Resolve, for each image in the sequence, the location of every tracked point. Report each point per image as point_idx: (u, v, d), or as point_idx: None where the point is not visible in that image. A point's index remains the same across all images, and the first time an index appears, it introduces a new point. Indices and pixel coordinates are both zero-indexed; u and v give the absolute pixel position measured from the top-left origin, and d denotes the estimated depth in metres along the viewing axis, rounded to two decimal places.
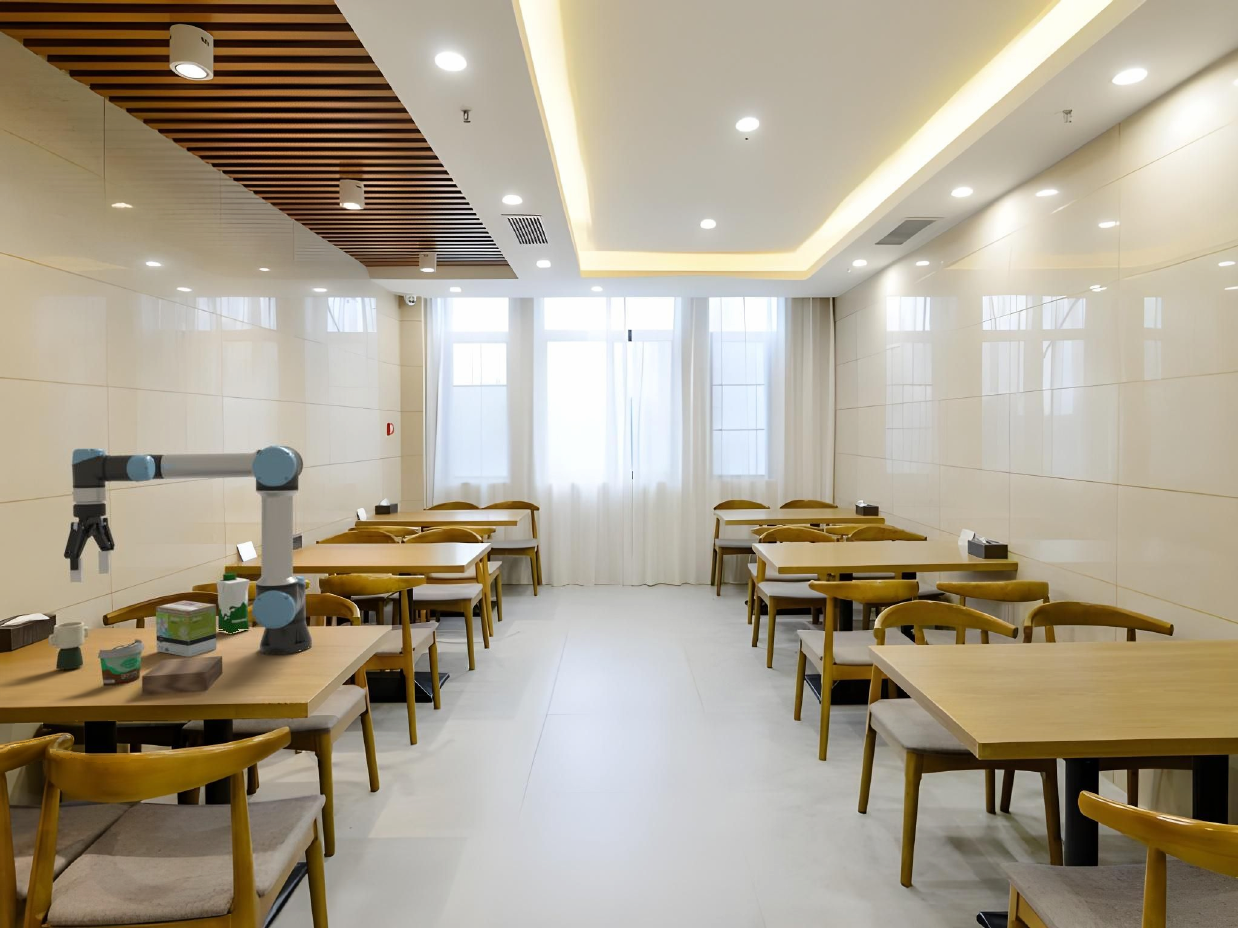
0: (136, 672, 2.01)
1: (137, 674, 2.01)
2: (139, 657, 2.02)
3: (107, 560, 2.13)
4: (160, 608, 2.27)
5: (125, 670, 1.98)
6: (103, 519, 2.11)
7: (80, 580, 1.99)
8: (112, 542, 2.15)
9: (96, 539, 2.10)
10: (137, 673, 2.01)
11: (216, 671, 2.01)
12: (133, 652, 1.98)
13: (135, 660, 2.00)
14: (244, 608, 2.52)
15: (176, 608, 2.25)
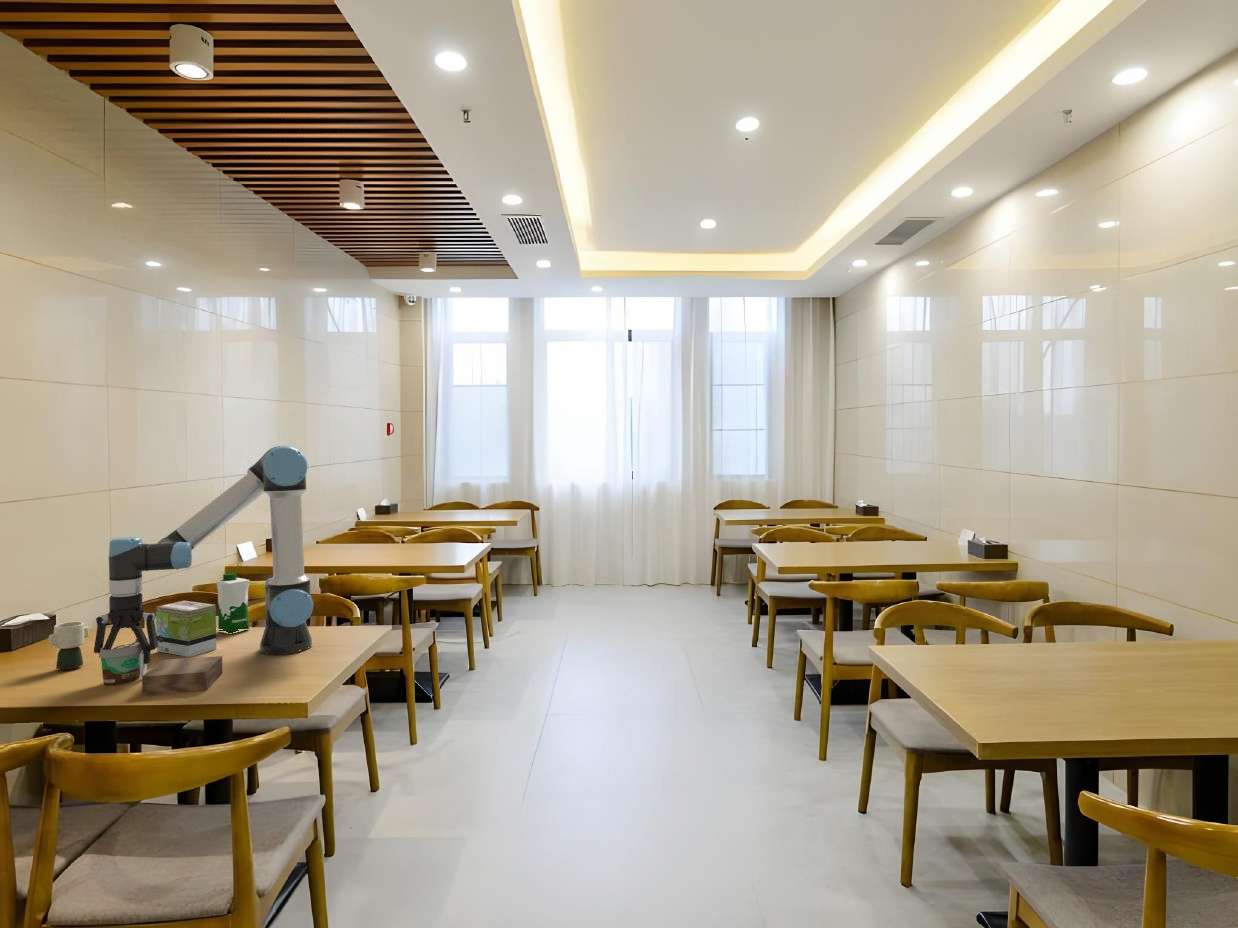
0: (136, 672, 2.01)
1: (137, 674, 2.01)
2: None
3: None
4: (160, 608, 2.27)
5: (126, 670, 1.98)
6: (148, 615, 2.00)
7: None
8: (152, 644, 2.00)
9: None
10: (137, 673, 2.01)
11: (216, 671, 2.01)
12: (134, 652, 1.98)
13: (136, 660, 2.00)
14: (244, 608, 2.52)
15: (176, 608, 2.25)
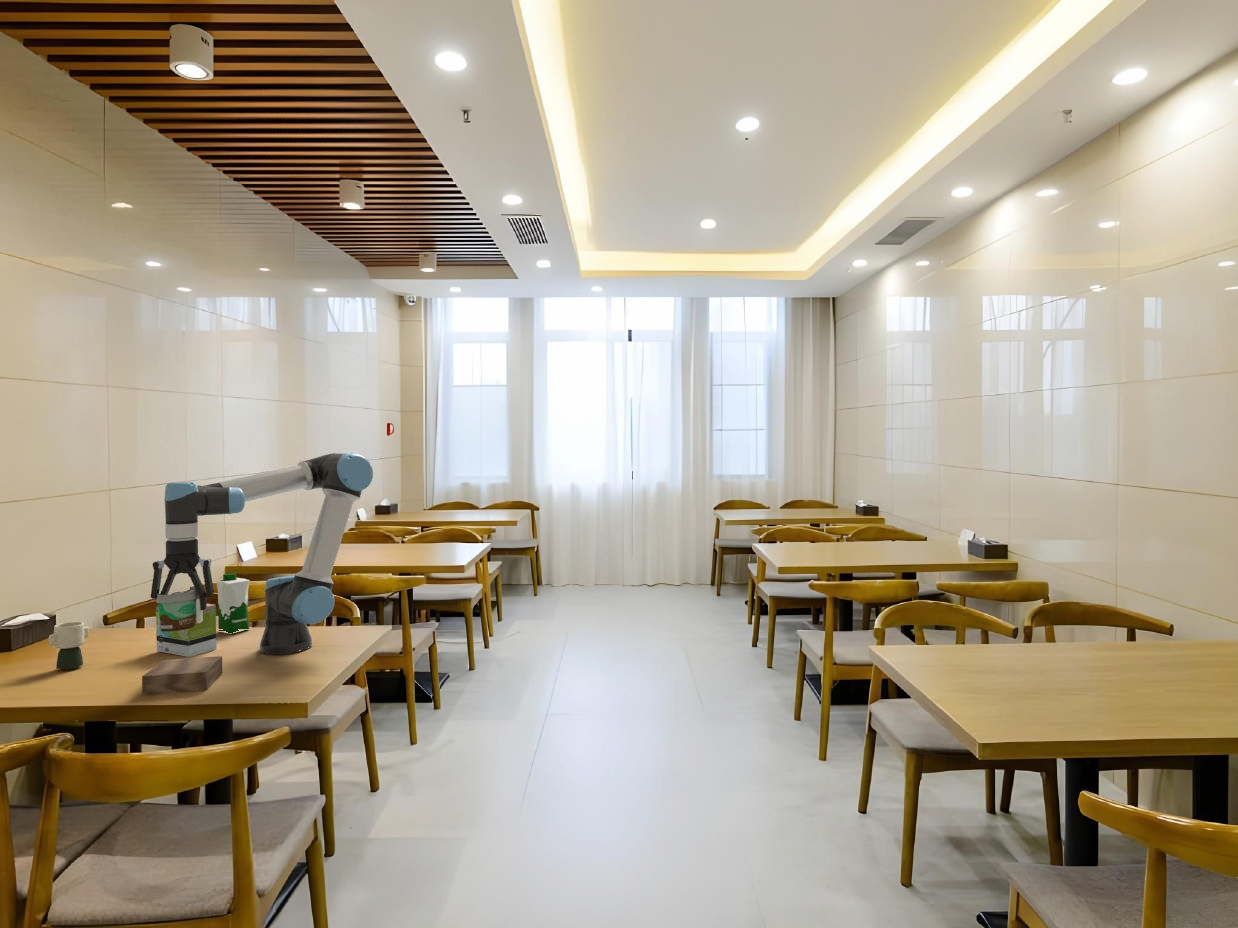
0: (193, 619, 1.97)
1: (194, 621, 1.98)
2: (195, 604, 1.98)
3: None
4: None
5: (183, 616, 1.95)
6: (204, 561, 1.97)
7: None
8: (208, 590, 1.97)
9: None
10: (194, 620, 1.98)
11: (216, 671, 2.01)
12: (190, 598, 1.95)
13: (192, 606, 1.97)
14: (244, 608, 2.52)
15: None
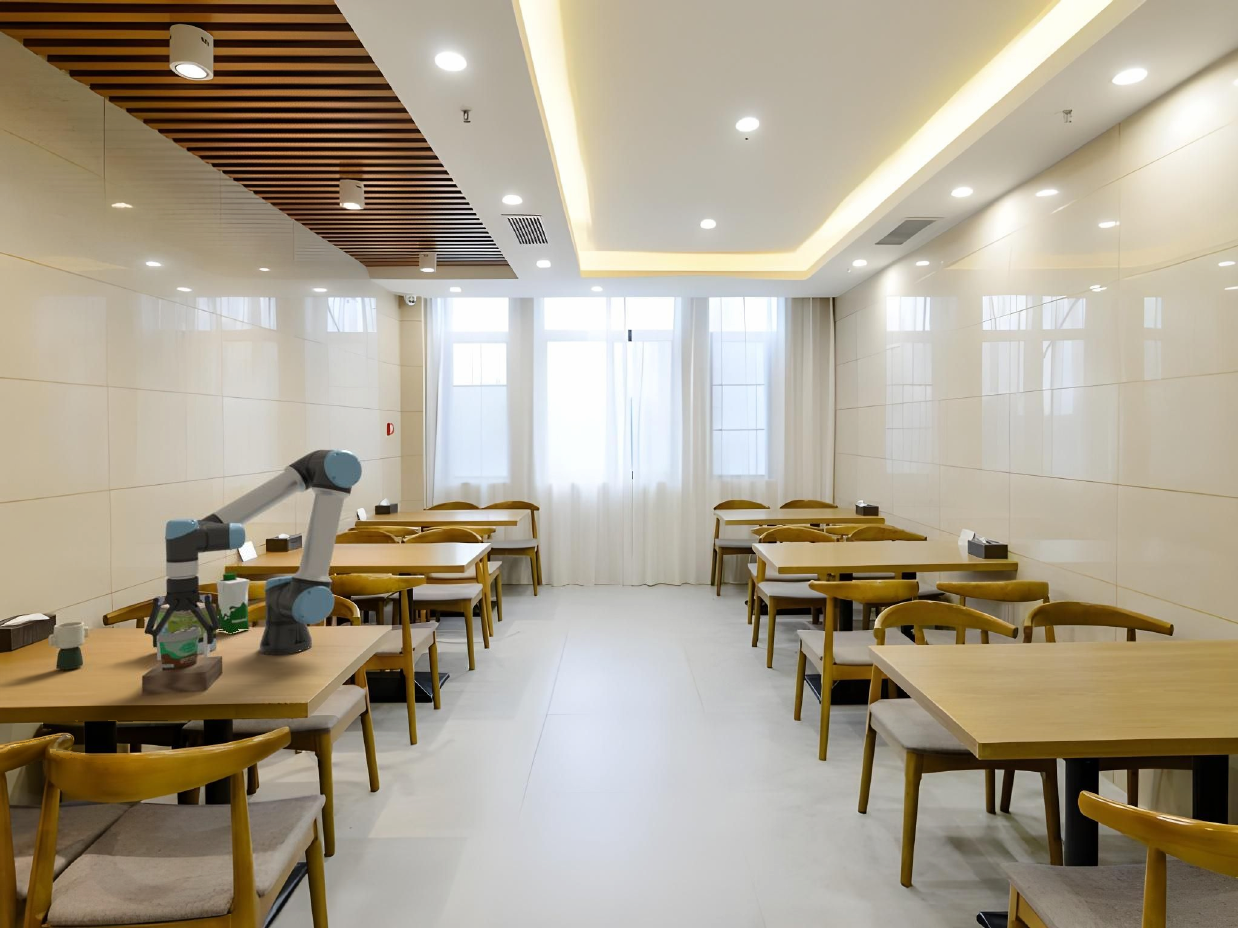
0: (194, 657, 1.98)
1: (195, 659, 1.98)
2: (197, 641, 1.99)
3: None
4: (160, 608, 2.27)
5: (184, 654, 1.95)
6: None
7: None
8: (214, 624, 1.98)
9: None
10: (195, 658, 1.98)
11: (216, 671, 2.01)
12: (192, 636, 1.96)
13: (194, 644, 1.97)
14: (244, 608, 2.52)
15: None
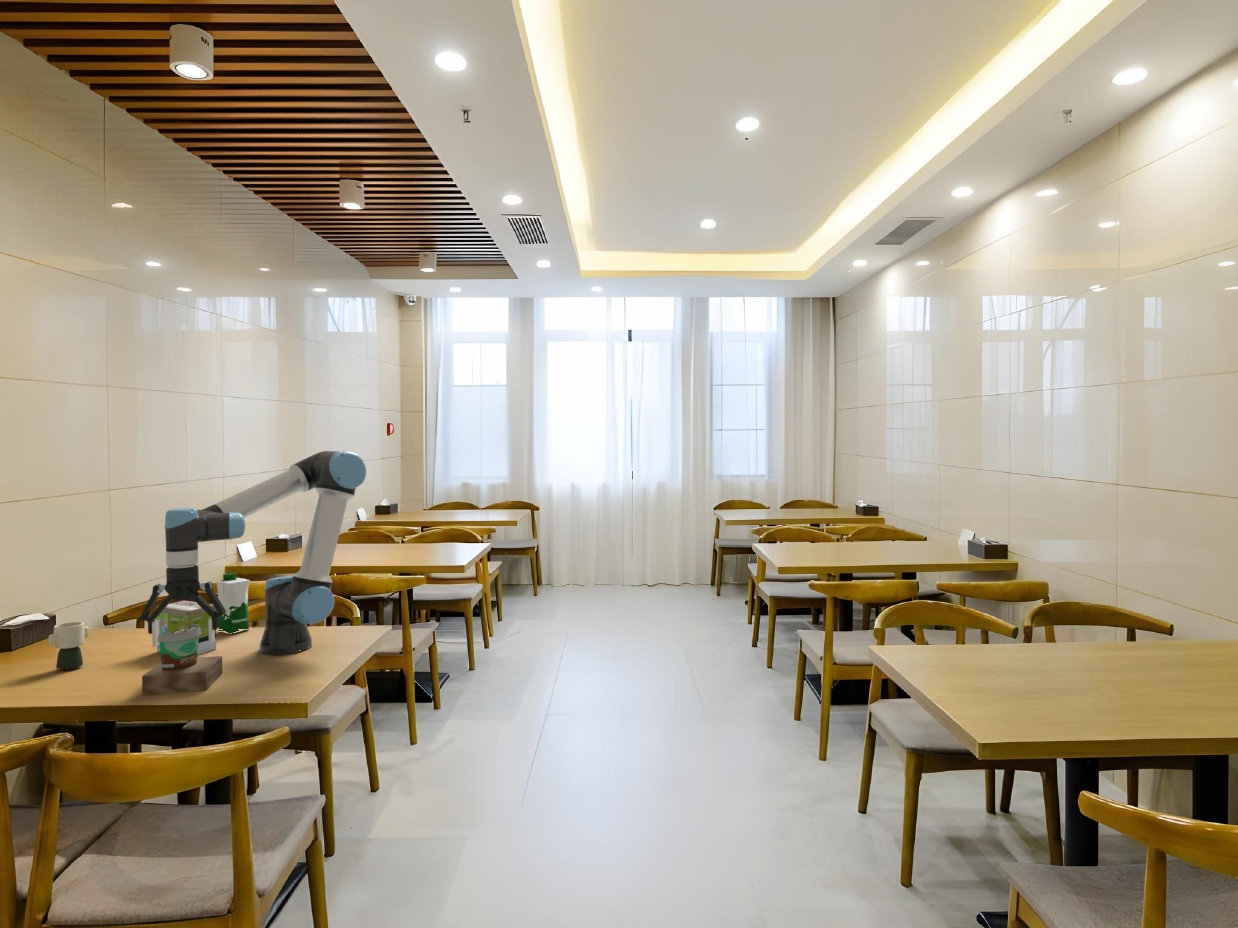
0: (194, 657, 1.98)
1: (195, 659, 1.98)
2: (197, 641, 1.99)
3: None
4: None
5: (184, 654, 1.95)
6: (205, 584, 1.97)
7: (152, 645, 1.94)
8: (219, 610, 1.98)
9: None
10: (195, 658, 1.98)
11: (216, 671, 2.01)
12: (192, 636, 1.96)
13: (194, 644, 1.97)
14: (244, 608, 2.52)
15: (176, 608, 2.25)
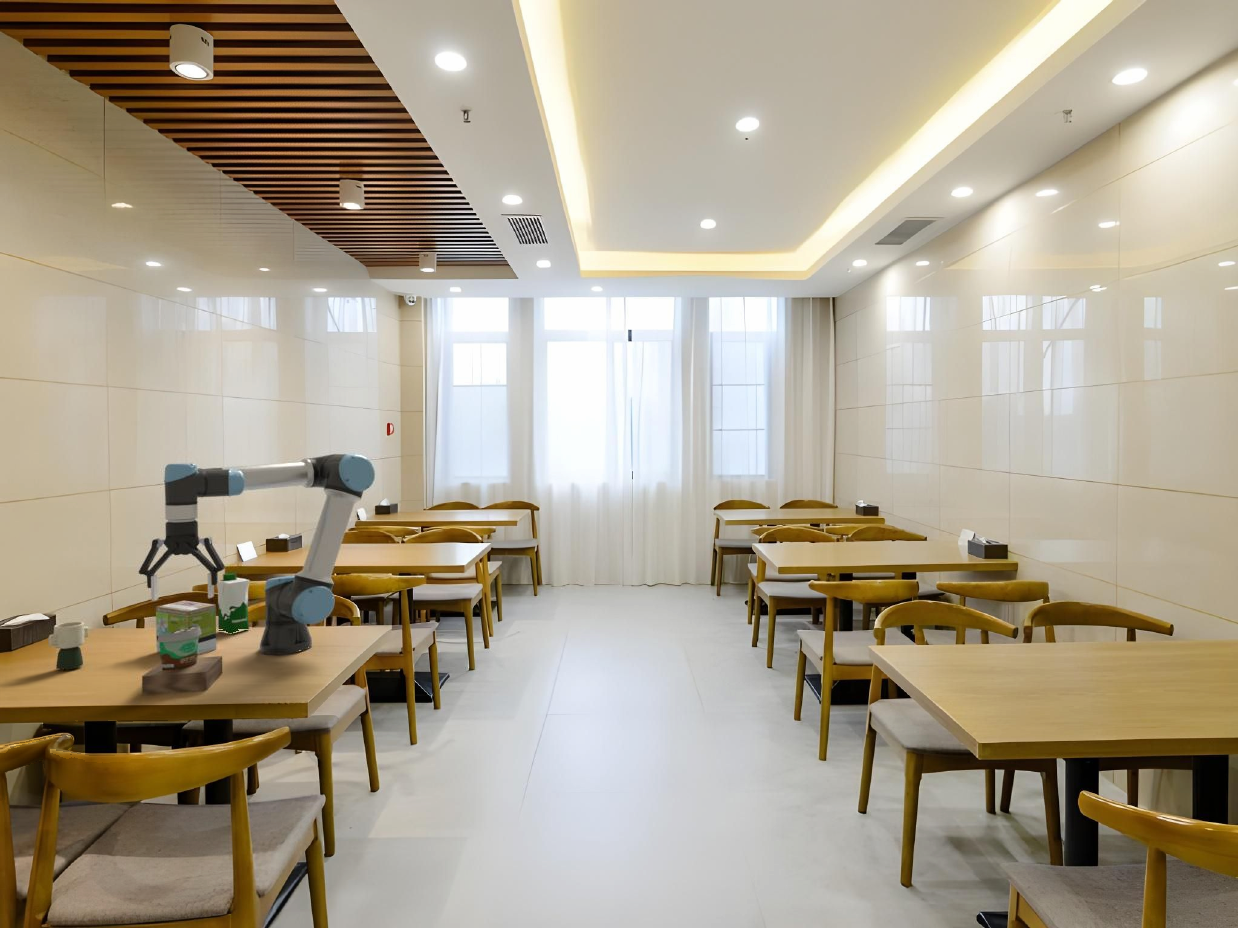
0: (194, 657, 1.98)
1: (195, 659, 1.98)
2: (197, 641, 1.99)
3: None
4: (160, 608, 2.27)
5: (184, 654, 1.95)
6: (204, 539, 1.97)
7: None
8: (218, 565, 1.98)
9: None
10: (195, 658, 1.98)
11: (216, 671, 2.01)
12: (192, 636, 1.96)
13: (194, 644, 1.97)
14: (244, 608, 2.52)
15: (176, 608, 2.25)
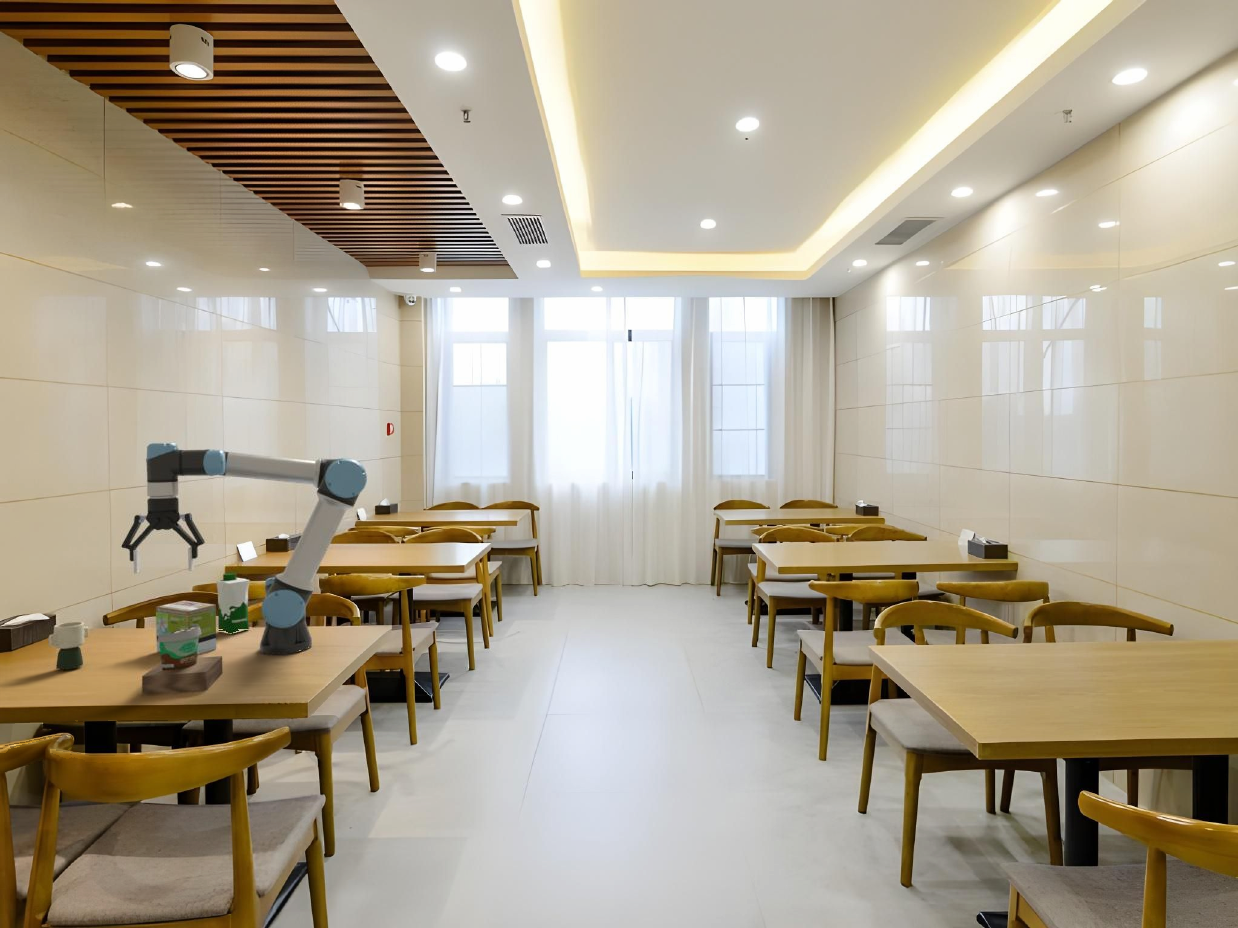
0: (194, 657, 1.98)
1: (195, 659, 1.98)
2: (197, 641, 1.99)
3: None
4: (160, 608, 2.27)
5: (184, 654, 1.95)
6: (185, 515, 2.08)
7: (134, 572, 2.04)
8: (198, 540, 2.09)
9: None
10: (195, 658, 1.98)
11: (216, 671, 2.01)
12: (192, 636, 1.96)
13: (194, 644, 1.97)
14: (244, 608, 2.53)
15: (176, 608, 2.25)
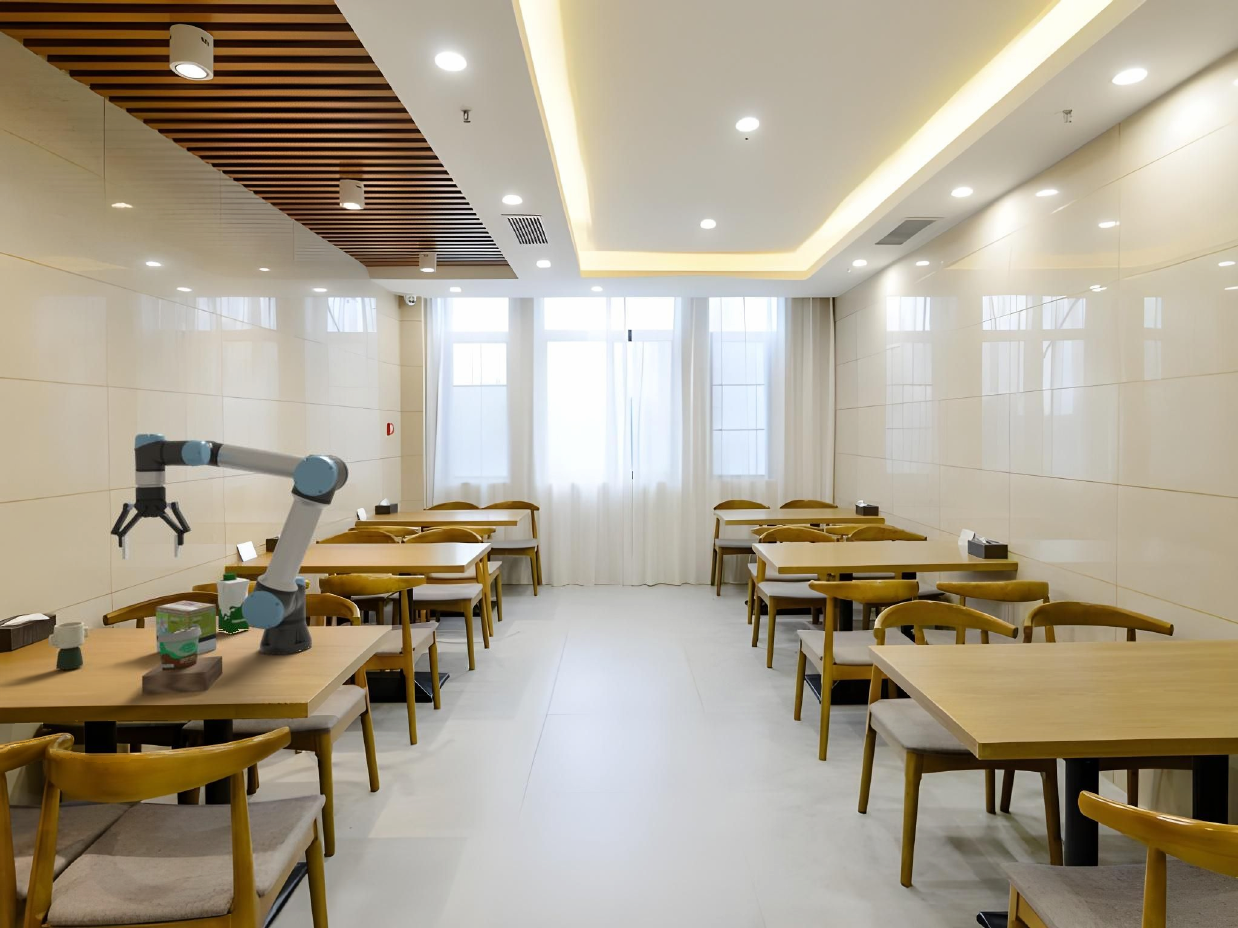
0: (194, 657, 1.98)
1: (195, 659, 1.98)
2: (197, 641, 1.99)
3: None
4: (160, 608, 2.27)
5: (184, 654, 1.95)
6: None
7: (122, 557, 2.12)
8: (184, 527, 2.16)
9: None
10: (195, 658, 1.98)
11: (216, 671, 2.01)
12: (192, 636, 1.96)
13: (194, 644, 1.97)
14: None
15: (176, 608, 2.25)
